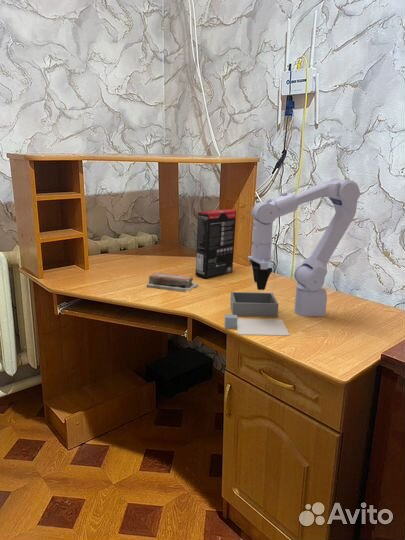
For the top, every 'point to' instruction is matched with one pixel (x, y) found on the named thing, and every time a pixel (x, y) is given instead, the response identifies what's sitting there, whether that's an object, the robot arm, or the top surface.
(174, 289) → the packaged product
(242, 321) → the white slab
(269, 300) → the gray open box
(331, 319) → the top surface
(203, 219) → the graphics card box
